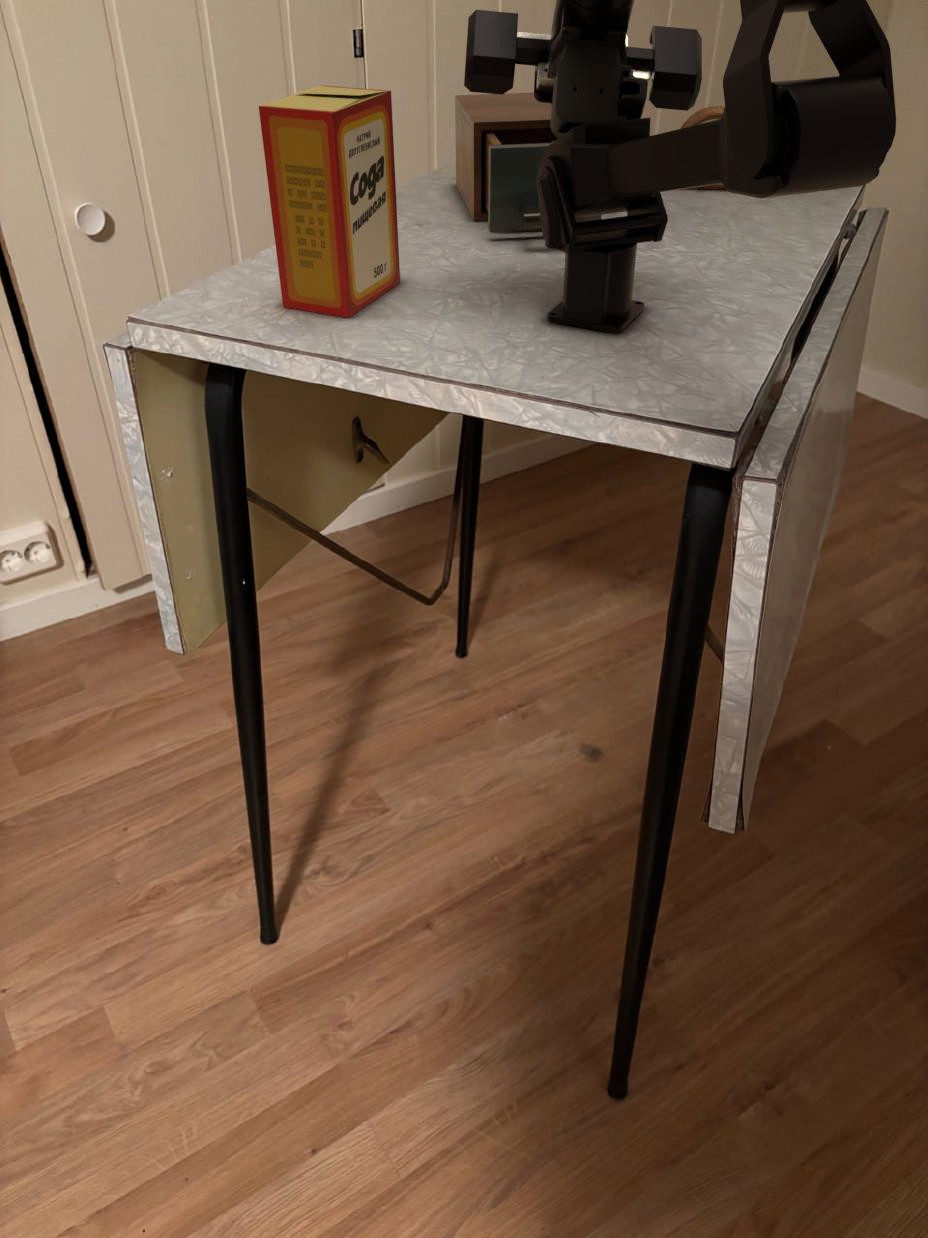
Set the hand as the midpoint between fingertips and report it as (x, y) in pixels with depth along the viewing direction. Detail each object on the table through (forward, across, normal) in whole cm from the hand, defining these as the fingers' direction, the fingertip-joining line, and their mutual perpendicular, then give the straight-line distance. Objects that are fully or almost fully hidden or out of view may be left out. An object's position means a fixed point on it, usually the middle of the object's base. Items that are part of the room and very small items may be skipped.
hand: (566, 134), depth 87 cm
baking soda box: (+5, -19, -15) cm, 24 cm away
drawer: (+16, -1, +3) cm, 16 cm away
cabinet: (+22, -2, +10) cm, 25 cm away
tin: (+24, +23, +15) cm, 36 cm away
